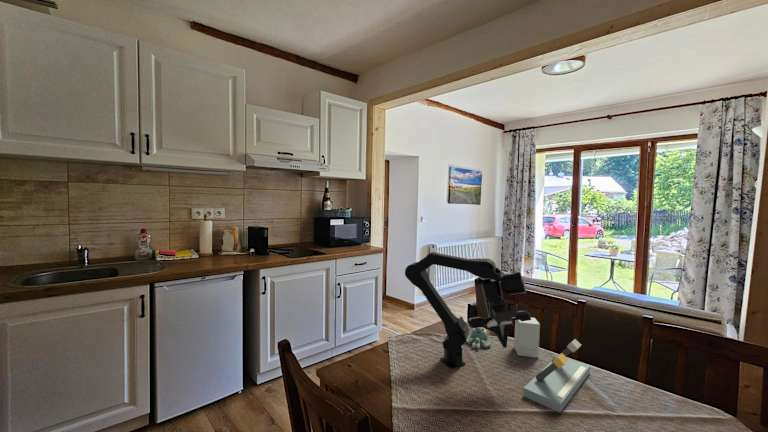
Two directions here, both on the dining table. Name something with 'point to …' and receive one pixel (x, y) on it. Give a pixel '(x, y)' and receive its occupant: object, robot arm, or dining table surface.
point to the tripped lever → (552, 367)
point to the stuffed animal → (479, 338)
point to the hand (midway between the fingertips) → (504, 347)
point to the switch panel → (557, 385)
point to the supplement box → (527, 337)
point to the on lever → (571, 348)
